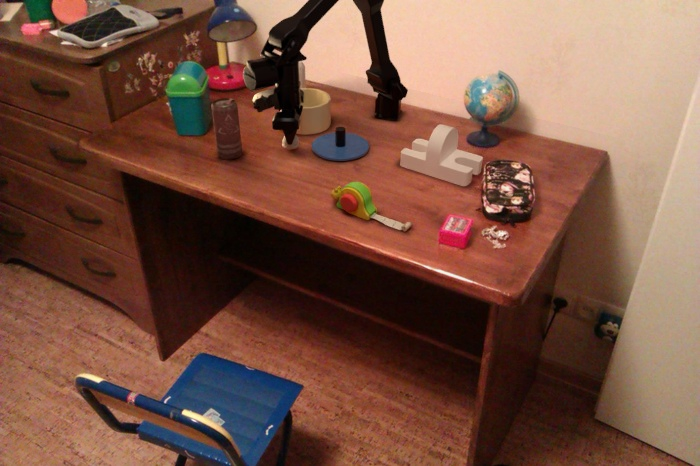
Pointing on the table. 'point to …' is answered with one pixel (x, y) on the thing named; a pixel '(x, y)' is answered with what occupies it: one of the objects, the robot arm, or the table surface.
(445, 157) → the grey bracket part
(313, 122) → the tin
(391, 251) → the table surface
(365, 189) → the toy measuring tape
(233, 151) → the can
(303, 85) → the photo printer
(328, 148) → the lid
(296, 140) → the rook chess piece
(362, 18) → the robot arm
